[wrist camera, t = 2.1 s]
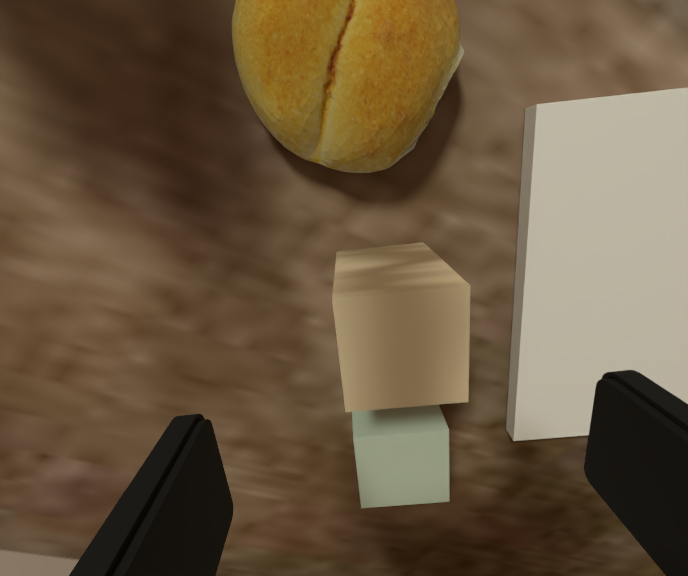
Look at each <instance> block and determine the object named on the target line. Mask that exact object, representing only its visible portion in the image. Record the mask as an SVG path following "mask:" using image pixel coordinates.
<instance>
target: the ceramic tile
mask: <svg viewBox="0 0 688 576" xmlns="http://www.w3.org/2000/svg"><path fill="white" fill-rule="evenodd" d="M624 370H635V371H637V372H639V373H641V374H642V375H644V376H646V377H647V378H649V379H650V380H652V381H653V382H655V383H656V384H658V385H659V386H661V387H662V388H664V389H666V390H667V391H669V392H670V393H672V394H673V395H675V396H676V397H678V398H679V399H681V400H682V401H684V402H686V403H687V404H688V88H680V89H671V90H662V91H653V92H644V93H635V94H626V95H617V96H608V97H599V98H589V99H580V100H571V101H562V102H553V103H544V104H536V105H533V106H530V107H527V108H525V122H524V139H523V155H522V172H521V188H520V205H519V222H518V238H517V255H516V271H515V288H514V305H513V321H512V338H511V354H510V371H509V388H508V404H507V421H506V430H507V432H508V433H509V435H510V436H511V438H512V440H513V441H522V440H534V439H547V438H559V437H572V436H584V435H589V430H590V423H591V416H592V409H593V402H594V396H595V389H596V384H597V382H598V380H600V379H601V378H602V376H603V375H604V374H605V373H607V372H614V371H624Z"/></svg>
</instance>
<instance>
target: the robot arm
mask: <svg viewBox="0 0 688 576" xmlns="http://www.w3.org/2000/svg"><path fill="white" fill-rule="evenodd" d="M584 470H585V474H586V477H587V479H588V481H589V483H590V484H591V485H592V487H593V488H594V489H595V490H596V491H597V493H598V494H599V495H600V496H601V497H602V499H603V500H604V501H605V502H606V503H607V505H608V506H609V507H610V508H611V510H612V511H613V512H614V513H615V514H616V516H617V517H618V518H619V519H620V520H621V522H622V523H623V524H624V525H625V526H626V528H627V529H628V530H629V531H630V533H631V534H632V535H633V536H634V537H635V539H636V540H637V541H638V542H639V543H640V545H641V546H642V547H643V548H644V549H645V551H646V552H647V553H648V554H649V556H650V557H651V558H652V559H653V560H654V562H655V563H656V564H657V565H658V566H659V568H660V569H661V570H662V571H663V572H664V574H665V575H666V576H688V404H687V403H686V402H684V401H682V400H681V399H679V398H678V397H676V396H675V395H673V394H672V393H670V392H669V391H667V390H666V389H664V388H662V387H661V386H659V385H658V384H656V383H655V382H653V381H652V380H650V379H649V378H647V377H646V376H644V375H642V374H641V373H639V372H637V371H635V370H624V371H614V372H607V373H605V374H604V375H603V376H602V378H601V379H600V380H598V382H597V384H596V389H595V396H594V402H593V409H592V416H591V423H590V430H589V437H588V444H587V450H586V457H585V464H584ZM232 516H233V502H232V498H231V494H230V490H229V486H228V483H227V479H226V475H225V471H224V468H223V464H222V460H221V456H220V453H219V449H218V445H217V441H216V438H215V434H214V430H213V426H212V423H211V421H210V420H208V419H206V420H205V419H204V417H203V416H202V415H201V414H193V415H184V416H177V417H175V418H174V419H173V420H172V421H171V423H170V424H169V426H168V427H167V429H166V430H165V432H164V433H163V435H162V436H161V438H160V439H159V441H158V442H157V444H156V445H155V447H154V448H153V450H152V451H151V453H150V455H149V456H148V458H147V459H146V461H145V462H144V464H143V465H142V467H141V468H140V470H139V471H138V473H137V474H136V476H135V477H134V479H133V480H132V482H131V483H130V485H129V486H128V488H127V489H126V490H125V492H124V493H123V495H122V496H121V498H120V499H119V501H118V502H117V504H116V505H115V507H114V508H113V510H112V512H111V513H110V515H109V516H108V518H107V519H106V521H105V522H104V524H103V525H102V527H101V528H100V530H99V531H98V533H97V534H96V536H95V537H94V539H93V540H92V542H91V543H90V545H89V546H88V548H87V549H86V551H85V552H84V554H83V555H82V557H81V558H80V560H79V561H78V563H77V564H76V566H75V568H74V569H73V571H72V572H71V574H70V575H69V576H215V575H216V571H217V568H218V565H219V561H220V558H221V554H222V551H223V548H224V544H225V541H226V538H227V534H228V531H229V527H230V524H231V521H232Z"/></svg>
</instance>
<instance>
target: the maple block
mask: <svg viewBox="0 0 688 576" xmlns="http://www.w3.org/2000/svg"><path fill="white" fill-rule="evenodd" d="M332 302H333V310H334V319H335V327H336V336H337V344H338V352H339V361H340V369H341V377H342V386H343V394H344V403H345V411H346V412H353V411H365V410H377V409H390V408H402V407H414V406H426V405H438V404H450V403H462V402H468V394H469V334H470V285H469V284H468V283H467V282H466V281H465V280H464V279H463V278H462V277H460V276H459V275H458V274H457V273H456V272H455V271H454V270H453V269H452V268H451V267H450V266H449V265H448V264H446V263H445V262H444V261H443V260H442V259H441V258H440V257H439V256H438V255H437V254H436V253H435V252H433V251H432V250H431V249H430V248H429V247H428V246H427V245H426V244H425V243H415V244H405V245H395V246H385V247H375V248H365V249H355V250H345V251H337V254H336V264H335V274H334V284H333V294H332Z"/></svg>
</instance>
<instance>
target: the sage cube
mask: <svg viewBox="0 0 688 576" xmlns="http://www.w3.org/2000/svg"><path fill="white" fill-rule="evenodd" d="M352 419H353V441H354V449H355V458H356V467H357V475H358V484H359V493H360V502H361V508H371V507H384V506H398V505H411V504H424V503H437V502H449V428H448V426H447V423H446V421H445V418H444V416H443V414H442V411H441V409H440V406H439V404H438V405H426V406H414V407H402V408H390V409H377V410H365V411H353V412H352Z"/></svg>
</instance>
